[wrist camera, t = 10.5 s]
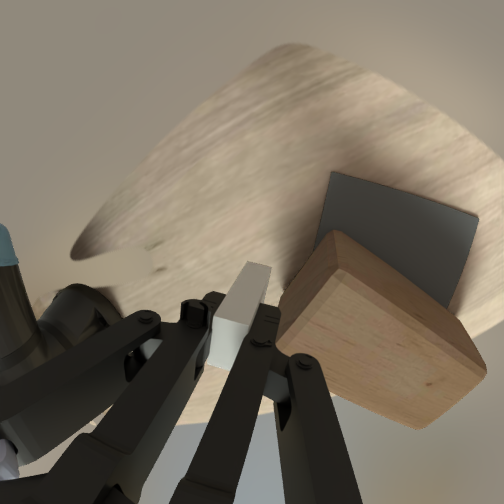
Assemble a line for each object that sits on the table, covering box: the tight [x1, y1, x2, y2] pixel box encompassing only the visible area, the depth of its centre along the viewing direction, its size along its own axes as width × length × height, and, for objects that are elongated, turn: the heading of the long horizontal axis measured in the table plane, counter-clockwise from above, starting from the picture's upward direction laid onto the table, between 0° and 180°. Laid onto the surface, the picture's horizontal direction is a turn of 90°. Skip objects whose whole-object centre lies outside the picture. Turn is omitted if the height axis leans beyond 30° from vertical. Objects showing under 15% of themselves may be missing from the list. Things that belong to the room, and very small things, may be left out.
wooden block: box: [275, 230, 487, 430], centre depth 24 cm, size 10×10×20 cm
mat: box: [313, 172, 479, 309], centre depth 27 cm, size 17×12×1 cm
